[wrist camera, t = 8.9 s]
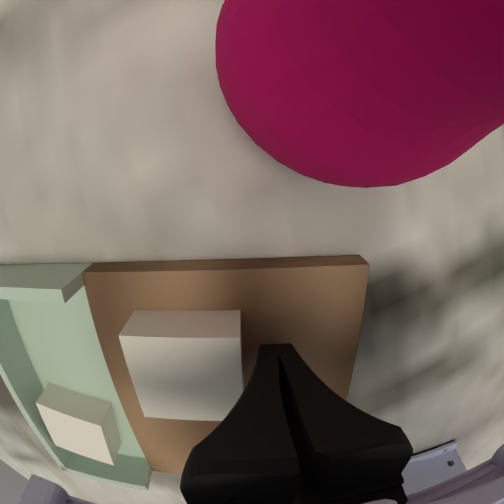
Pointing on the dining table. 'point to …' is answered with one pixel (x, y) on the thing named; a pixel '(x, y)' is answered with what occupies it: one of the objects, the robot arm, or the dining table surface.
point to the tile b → (185, 362)
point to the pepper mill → (363, 83)
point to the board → (252, 323)
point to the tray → (60, 361)
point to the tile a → (80, 423)
